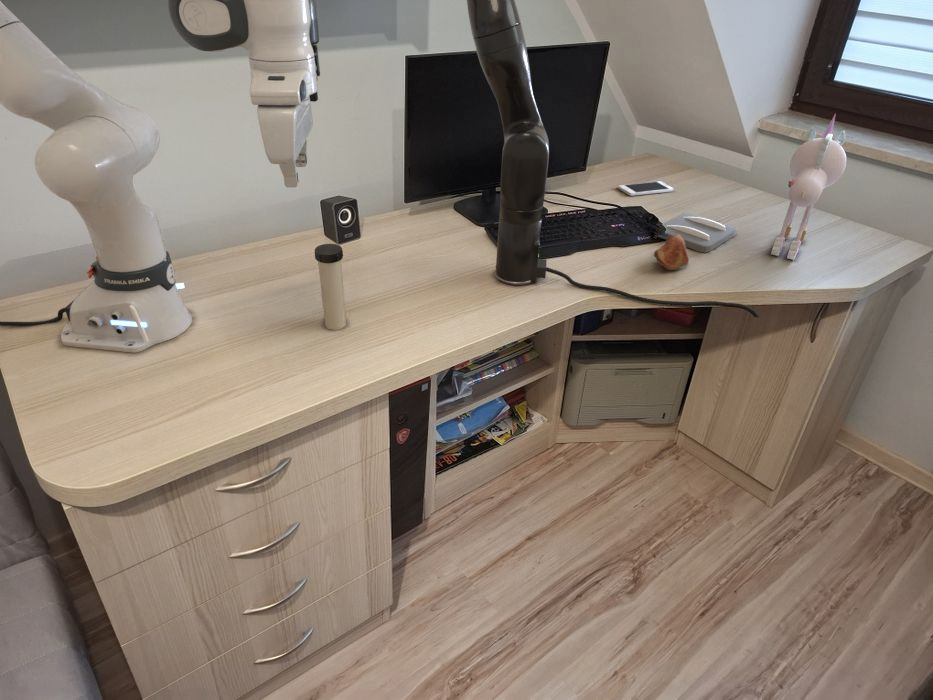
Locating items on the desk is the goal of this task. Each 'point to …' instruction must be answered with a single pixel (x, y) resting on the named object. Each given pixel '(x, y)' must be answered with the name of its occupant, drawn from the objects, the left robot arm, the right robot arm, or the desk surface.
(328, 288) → the beige cylindrical bottle
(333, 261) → the lid
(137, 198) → the left robot arm
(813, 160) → the toy
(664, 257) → the fossil
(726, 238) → the light switch
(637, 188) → the smartphone
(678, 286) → the desk surface
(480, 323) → the desk surface
